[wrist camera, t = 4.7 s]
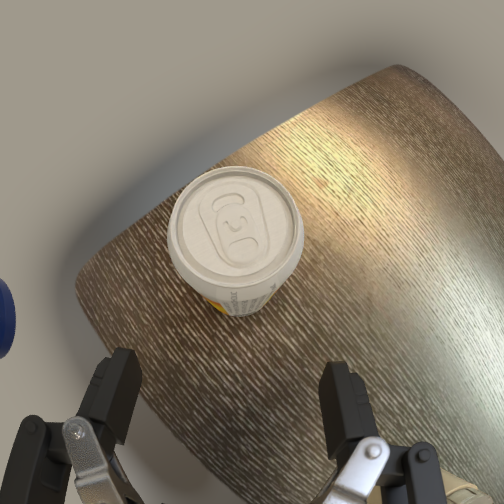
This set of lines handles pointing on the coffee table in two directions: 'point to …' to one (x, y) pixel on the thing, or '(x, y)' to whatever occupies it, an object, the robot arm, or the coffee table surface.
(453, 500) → the jar lid
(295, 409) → the coffee table surface
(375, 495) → the jar
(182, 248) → the beer can
